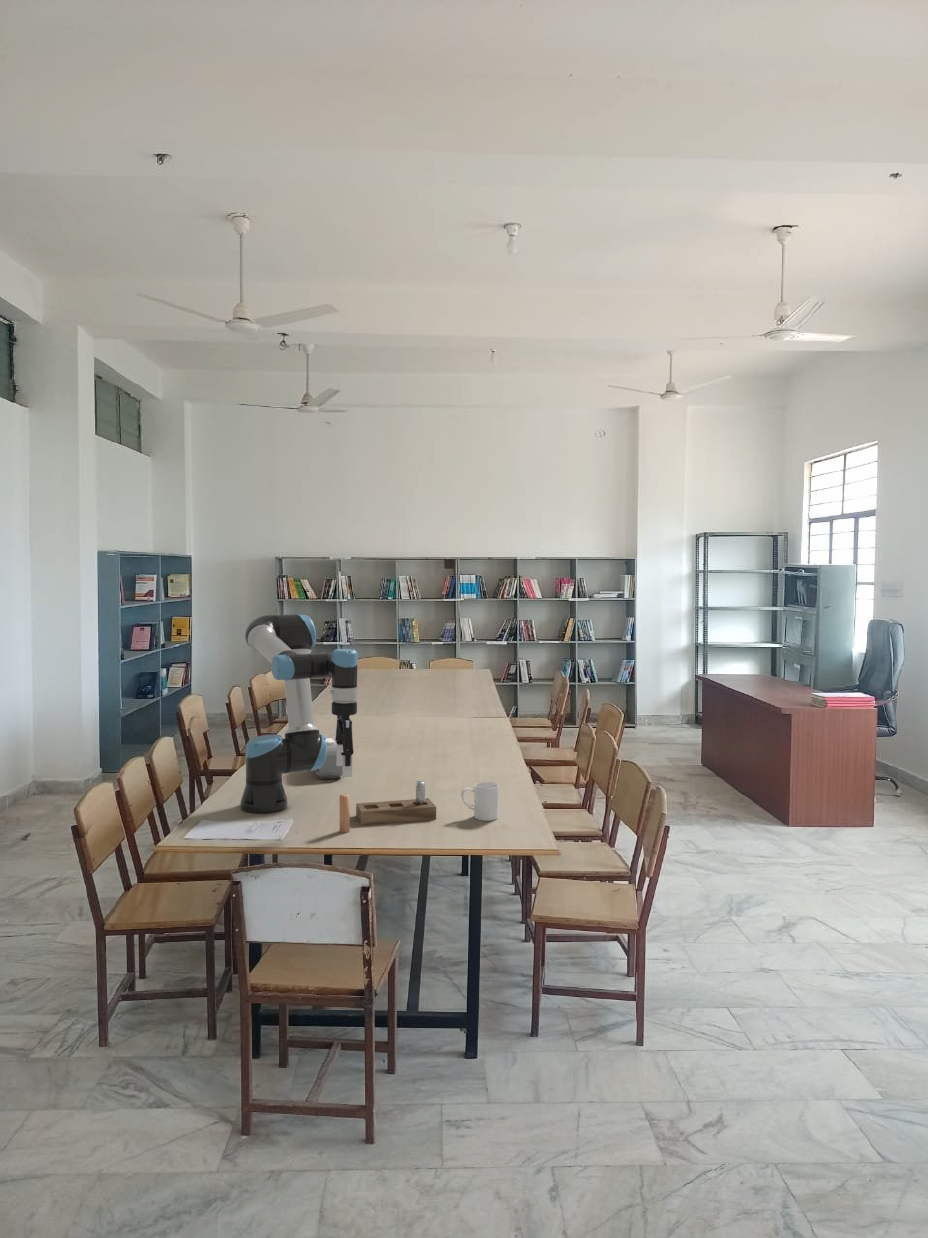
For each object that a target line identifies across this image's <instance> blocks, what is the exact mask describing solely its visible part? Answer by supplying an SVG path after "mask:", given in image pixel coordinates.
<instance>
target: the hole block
mask: <svg viewBox="0 0 928 1238" xmlns="http://www.w3.org/2000/svg"><path fill="white" fill-rule="evenodd" d="M355 804H356V805H355V807H356V808H355V816H356V818H357V819H358V821H359V823H360V825H361V826H364V825H365V826H366V825H377V824H390V823H401V822H402V823H403V822H416V821H417V822H418V821H427V820H428V821H429V820H437V806H436V804H434V802H433V801H432V800H431V799H430V798H426V797H425V805H417V806H416V798H415V799H398V800H385V801H384V800H383V801H371V802H356V803H355Z"/></svg>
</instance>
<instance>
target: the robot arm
mask: <svg viewBox="0 0 928 1238" xmlns="http://www.w3.org/2000/svg"><path fill="white" fill-rule="evenodd" d="M316 630H317V629H316V626H315V625H314V622H313V620H312V619H311V617H310V616H308V615H306V614H297V613H295V614H272V615H271V614H266V615H265V614H264V615H262V616H258V617H257V618H255V619H254V620H252V621H251V622H250V623H249V624H248V626H247V628H246V630H245V633H244V638H245V641H246V644H247V645H248V647H249V648H251V650H252V651H254V652H257V653H259V654H261V655H262V657H264V659H266V660H267V661H268V662H269V663H270V664H271V665H270V667H271V669H270V671H271V674H272V677H273V678H274V679H275V680H277V681H284V689H285V690H284V691H285V700H286V711H287V723H288V725H287V726H288V728H287V730H285V732H284V738H283V737H282V735H280V734H276V733H275V734H264V735H259V736H255V737H253V738H251V739H249V740H248V741H247V743H246V745H245V746H246V747H245V754H244V756H245V786H244V789H243V793H242V795H241V799H240V805H239V808H240V810H242V812H246V813H251V814H252V813H253V814H255V813H256V814H267V813H274V812H279V811H282V810H285V809H286V808H288V797H287V794H286V790H285V788H284V785H283V774H291V773H294V774H295V773H302V772H312V771H314V770H316V769H319V768H321V767H322V766H323V764H324V762H325V759H326V755H327V742H326V738H327V737H326V736H325V735H323V734H320V729H319V728H318V727H317V726H316V725H315V722H314V721H315V719H314V711H313V700H312V690H311V680H310V679H324V678H325V679H327V678H331V689H332V690H329V693H330V694H331V700H332V702H331V714H332V715H334V716H337V717H336V730H335V739H334V740H336V743H337V744H338V745H336V766H343V773H342V776H341V777H342V778H351V777H352V778H353V754H354V752H355V751H354V739H353V721H352V720H351V719H350V716H354V715H357V712H358V703H357V700H358V663H359V661H358V652H357V651H356V650H355V649H353V648H352V649H351V648H336V649H334V650H332V651H323V652H320V653H312V648H313V647H315V645H316V643H317V631H316Z"/></svg>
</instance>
